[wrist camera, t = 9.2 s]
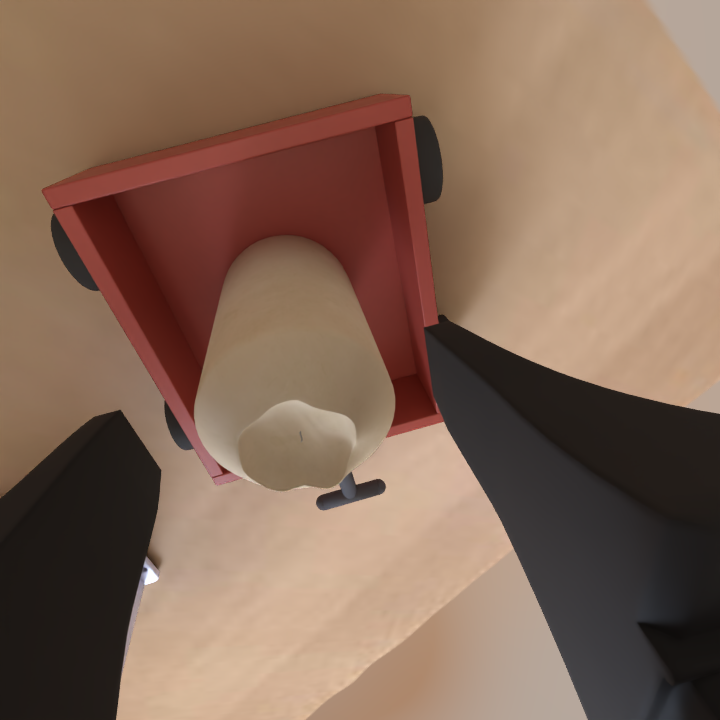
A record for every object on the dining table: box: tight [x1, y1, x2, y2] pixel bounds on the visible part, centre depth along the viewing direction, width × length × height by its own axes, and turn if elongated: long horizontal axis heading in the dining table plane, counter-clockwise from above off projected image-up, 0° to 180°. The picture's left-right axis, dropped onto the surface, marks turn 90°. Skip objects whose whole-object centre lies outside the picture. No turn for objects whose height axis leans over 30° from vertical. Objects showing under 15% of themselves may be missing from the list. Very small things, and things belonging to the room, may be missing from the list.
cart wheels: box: [51, 116, 449, 510], centre depth 20 cm, size 17×13×3 cm
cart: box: [42, 94, 444, 485], centre depth 18 cm, size 13×11×4 cm
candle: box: [194, 235, 395, 492], centre depth 15 cm, size 6×6×10 cm
